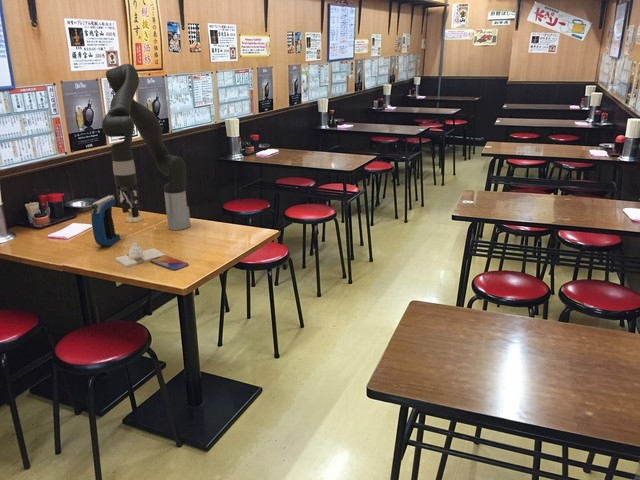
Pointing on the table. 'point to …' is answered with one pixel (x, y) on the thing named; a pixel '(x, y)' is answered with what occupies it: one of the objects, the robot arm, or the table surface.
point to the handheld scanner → (104, 221)
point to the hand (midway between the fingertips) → (130, 214)
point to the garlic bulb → (135, 251)
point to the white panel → (146, 257)
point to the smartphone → (169, 263)
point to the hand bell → (132, 219)
